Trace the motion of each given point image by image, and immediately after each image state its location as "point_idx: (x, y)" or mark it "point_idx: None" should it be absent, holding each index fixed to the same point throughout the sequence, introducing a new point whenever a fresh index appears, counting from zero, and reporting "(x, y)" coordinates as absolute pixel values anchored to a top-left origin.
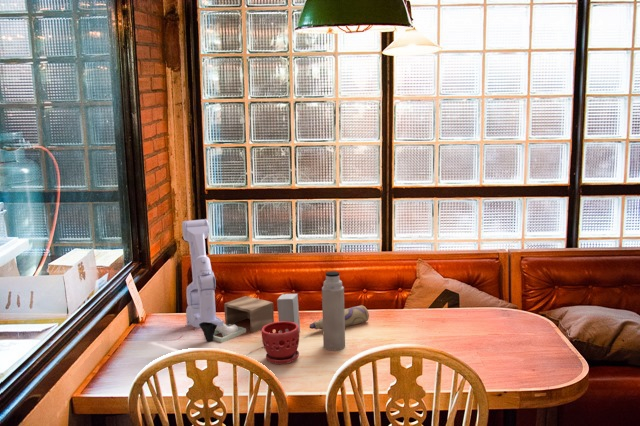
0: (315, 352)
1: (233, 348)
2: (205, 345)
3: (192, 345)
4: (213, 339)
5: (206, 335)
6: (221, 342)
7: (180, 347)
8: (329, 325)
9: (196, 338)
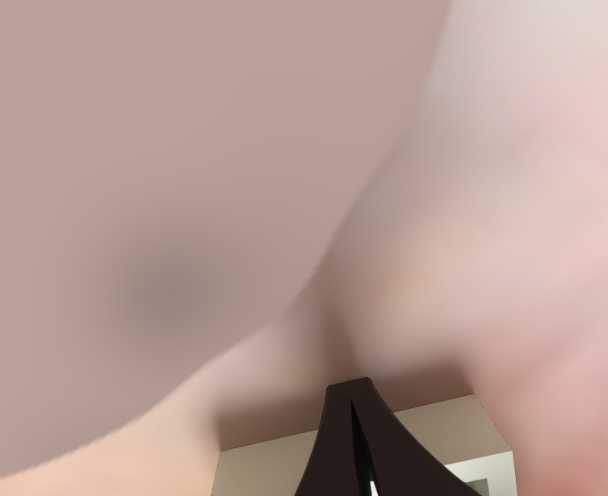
0: None
1: (56, 491)
2: (323, 327)
3: (438, 210)
4: None
5: (349, 436)
6: (216, 475)
7: (500, 43)
8: None
9: (593, 342)
